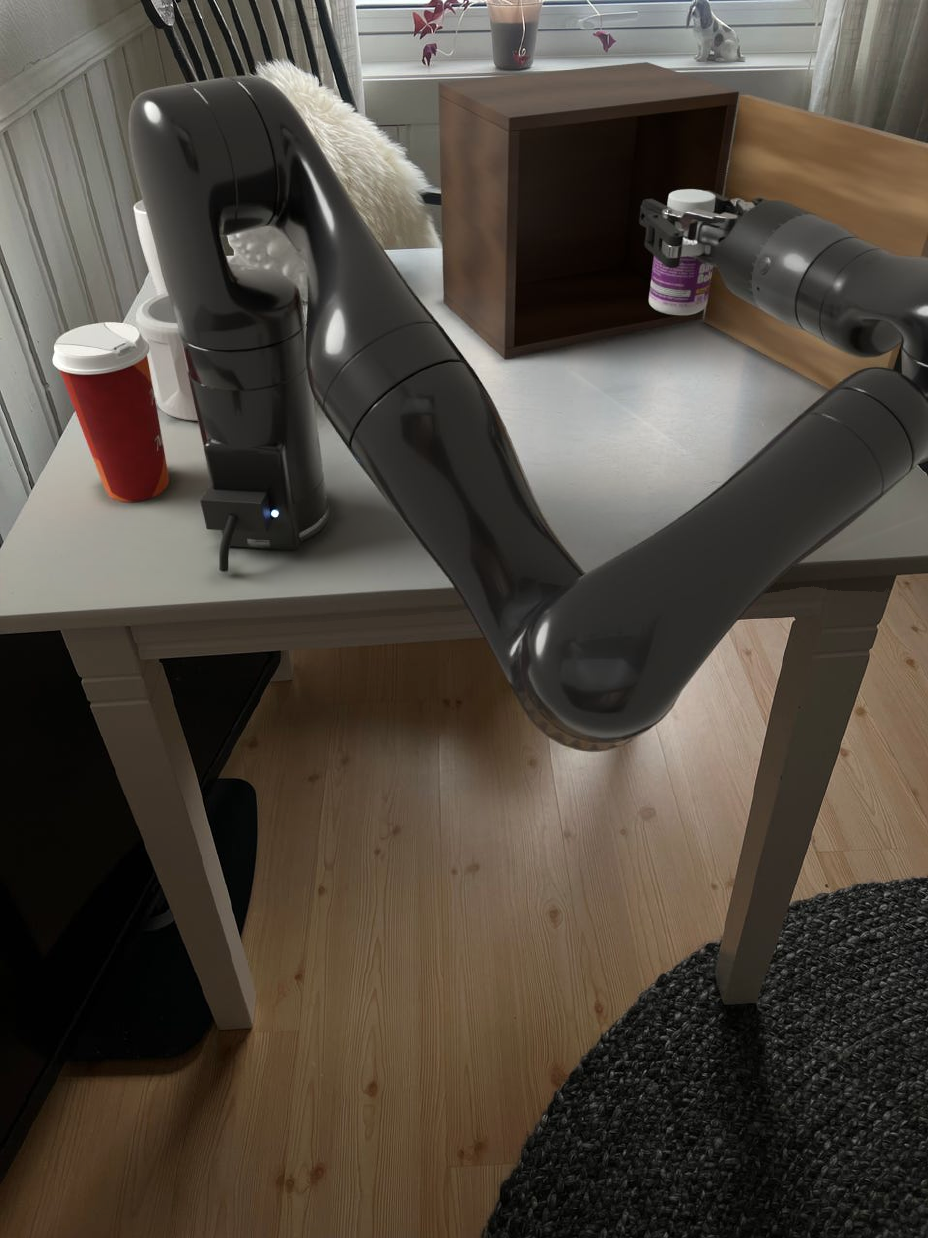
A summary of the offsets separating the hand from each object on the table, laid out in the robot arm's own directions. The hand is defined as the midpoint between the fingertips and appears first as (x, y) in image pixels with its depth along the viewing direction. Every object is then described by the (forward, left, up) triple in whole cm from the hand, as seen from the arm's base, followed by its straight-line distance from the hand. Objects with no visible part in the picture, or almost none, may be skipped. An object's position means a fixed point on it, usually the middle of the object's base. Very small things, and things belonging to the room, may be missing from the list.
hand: (673, 206), depth 83 cm
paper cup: (-20, +47, -20) cm, 54 cm away
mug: (-2, +47, -20) cm, 51 cm away
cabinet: (+24, +9, -20) cm, 33 cm away
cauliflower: (+28, +45, -20) cm, 57 cm away
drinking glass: (+12, +53, -20) cm, 58 cm away
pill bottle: (-2, -1, -8) cm, 9 cm away
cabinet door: (+14, -18, -19) cm, 30 cm away
